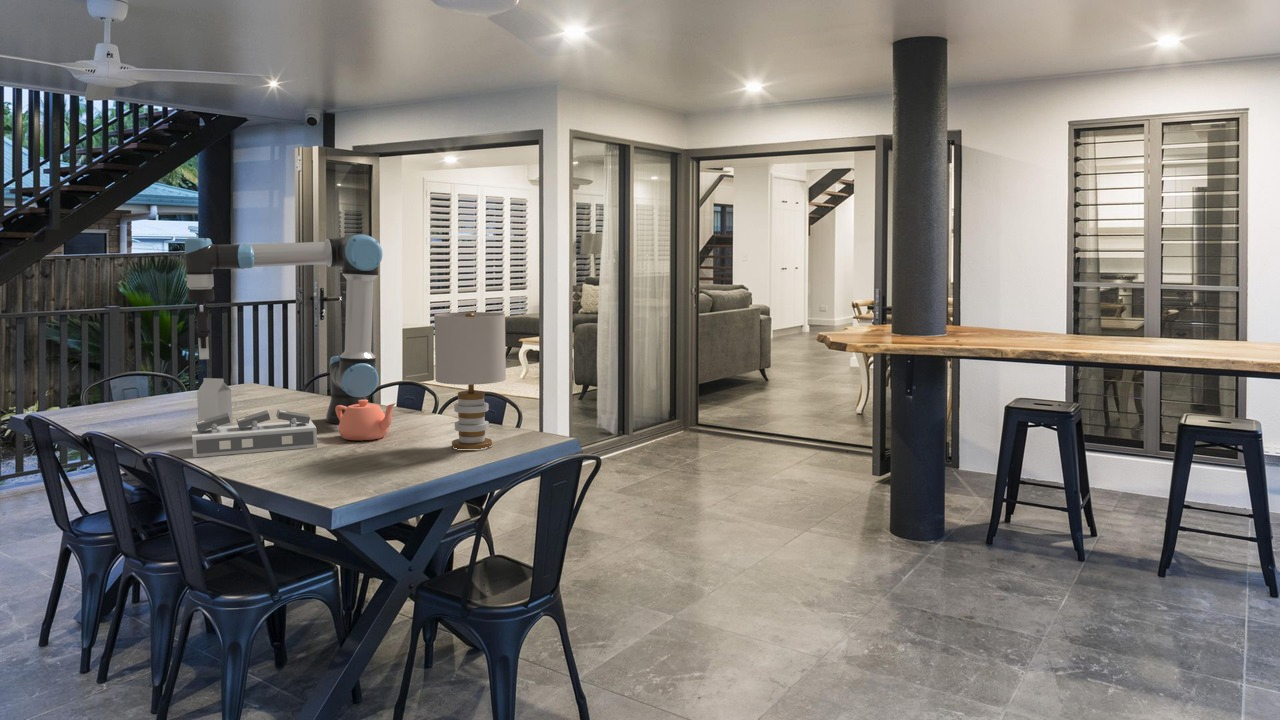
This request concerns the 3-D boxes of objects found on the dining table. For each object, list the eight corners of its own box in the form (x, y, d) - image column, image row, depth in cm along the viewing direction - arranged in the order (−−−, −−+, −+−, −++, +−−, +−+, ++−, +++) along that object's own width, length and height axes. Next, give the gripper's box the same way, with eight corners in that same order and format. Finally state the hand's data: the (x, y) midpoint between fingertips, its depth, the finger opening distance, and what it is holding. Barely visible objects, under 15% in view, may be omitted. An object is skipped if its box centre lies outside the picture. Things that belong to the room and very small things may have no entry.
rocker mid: (269, 417, 285) (266, 409, 284) (271, 421, 279) (268, 412, 278) (238, 426, 281) (235, 418, 280) (239, 430, 275) (237, 422, 275)
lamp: (431, 443, 289) (428, 311, 284) (497, 438, 297) (495, 310, 292) (444, 456, 269) (441, 316, 265) (514, 451, 278) (513, 314, 273)
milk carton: (219, 440, 292) (216, 380, 290) (199, 439, 293) (196, 379, 291) (233, 435, 299) (230, 377, 296) (213, 434, 300) (210, 376, 298)
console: (311, 438, 294) (310, 416, 294) (317, 447, 281) (316, 424, 281) (192, 448, 280) (191, 425, 279) (193, 457, 267) (192, 434, 266)
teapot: (409, 435, 300) (408, 398, 299) (383, 444, 286) (382, 405, 284) (350, 431, 306) (349, 394, 305) (322, 440, 292) (320, 401, 291)
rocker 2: (305, 422, 290) (307, 413, 290) (308, 425, 284) (310, 417, 284) (275, 417, 285) (277, 408, 285) (277, 420, 280) (279, 412, 280)
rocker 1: (230, 420, 280) (227, 412, 279) (231, 424, 274) (228, 415, 274) (198, 429, 276) (195, 421, 276) (198, 433, 271) (196, 425, 270)
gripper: (187, 287, 296) (191, 353, 298) (186, 290, 273) (190, 361, 276) (213, 286, 299) (217, 352, 301) (214, 289, 276) (218, 360, 279)
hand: (204, 356), depth 289 cm, fingers open, 13 cm apart
